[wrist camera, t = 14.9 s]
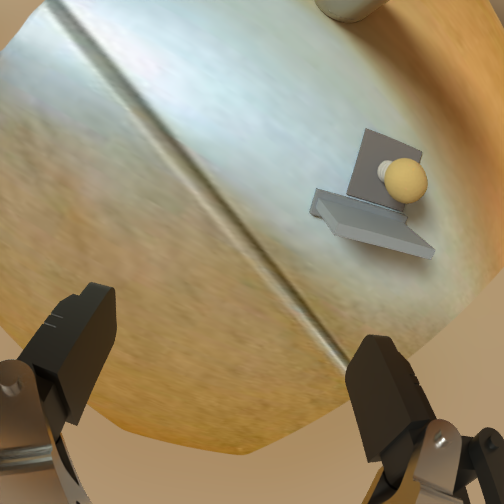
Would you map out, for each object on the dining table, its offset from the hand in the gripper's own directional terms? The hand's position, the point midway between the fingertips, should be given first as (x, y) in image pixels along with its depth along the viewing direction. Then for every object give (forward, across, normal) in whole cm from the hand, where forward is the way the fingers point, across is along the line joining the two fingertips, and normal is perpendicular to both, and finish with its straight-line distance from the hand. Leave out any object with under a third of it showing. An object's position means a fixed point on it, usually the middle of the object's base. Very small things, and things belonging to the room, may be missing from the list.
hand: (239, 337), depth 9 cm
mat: (+38, -22, -4) cm, 44 cm away
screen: (+38, -20, +4) cm, 43 cm away
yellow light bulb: (+38, -22, -4) cm, 44 cm away
